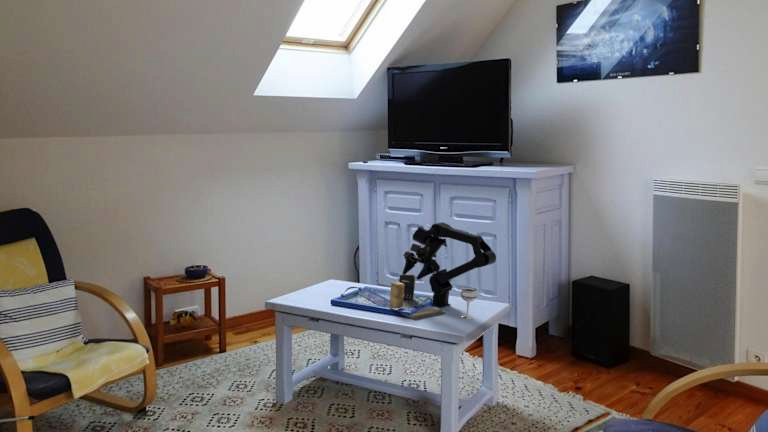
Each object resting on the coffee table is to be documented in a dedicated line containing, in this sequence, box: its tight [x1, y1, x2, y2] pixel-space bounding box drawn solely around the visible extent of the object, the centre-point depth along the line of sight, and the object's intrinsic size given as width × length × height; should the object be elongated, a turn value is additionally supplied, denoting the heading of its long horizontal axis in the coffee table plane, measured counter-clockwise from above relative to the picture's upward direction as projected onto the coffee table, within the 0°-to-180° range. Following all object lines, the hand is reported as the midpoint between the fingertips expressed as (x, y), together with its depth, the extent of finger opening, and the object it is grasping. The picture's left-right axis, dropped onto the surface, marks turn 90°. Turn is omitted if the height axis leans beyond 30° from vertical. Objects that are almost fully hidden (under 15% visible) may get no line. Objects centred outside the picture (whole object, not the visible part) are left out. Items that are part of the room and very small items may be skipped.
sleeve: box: [389, 281, 405, 309], centre depth 282 cm, size 4×4×11 cm
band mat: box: [401, 305, 446, 321], centre depth 279 cm, size 17×11×2 cm, turn 129°
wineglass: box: [460, 286, 478, 320], centre depth 277 cm, size 7×7×12 cm
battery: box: [398, 272, 416, 301], centre depth 297 cm, size 7×4×11 cm, turn 70°
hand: (410, 276), depth 285 cm, fingers open, 9 cm apart
